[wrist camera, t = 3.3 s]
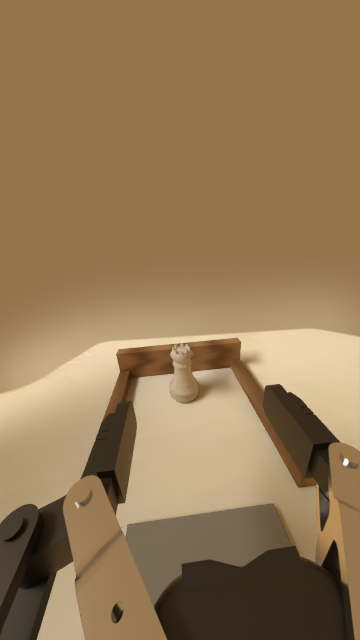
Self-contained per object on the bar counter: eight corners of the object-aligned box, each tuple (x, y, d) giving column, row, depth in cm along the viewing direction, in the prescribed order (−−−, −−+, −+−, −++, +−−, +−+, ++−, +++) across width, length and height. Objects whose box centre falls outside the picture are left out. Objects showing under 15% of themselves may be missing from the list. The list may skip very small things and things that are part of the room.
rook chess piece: (165, 390, 29) (159, 345, 26) (189, 379, 31) (186, 337, 28) (178, 409, 25) (174, 360, 22) (204, 396, 27) (204, 349, 24)
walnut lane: (75, 519, 15) (57, 483, 14) (123, 372, 34) (118, 349, 32) (315, 484, 16) (328, 448, 15) (236, 361, 35) (237, 337, 33)
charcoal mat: (67, 1005, 5) (62, 1013, 5) (128, 528, 15) (127, 524, 15) (439, 902, 6) (446, 907, 6) (272, 506, 15) (273, 503, 15)
